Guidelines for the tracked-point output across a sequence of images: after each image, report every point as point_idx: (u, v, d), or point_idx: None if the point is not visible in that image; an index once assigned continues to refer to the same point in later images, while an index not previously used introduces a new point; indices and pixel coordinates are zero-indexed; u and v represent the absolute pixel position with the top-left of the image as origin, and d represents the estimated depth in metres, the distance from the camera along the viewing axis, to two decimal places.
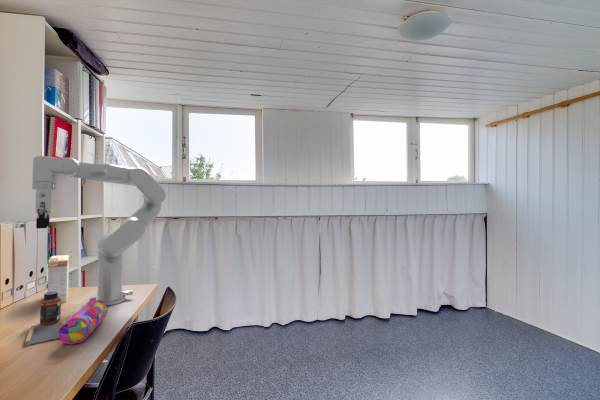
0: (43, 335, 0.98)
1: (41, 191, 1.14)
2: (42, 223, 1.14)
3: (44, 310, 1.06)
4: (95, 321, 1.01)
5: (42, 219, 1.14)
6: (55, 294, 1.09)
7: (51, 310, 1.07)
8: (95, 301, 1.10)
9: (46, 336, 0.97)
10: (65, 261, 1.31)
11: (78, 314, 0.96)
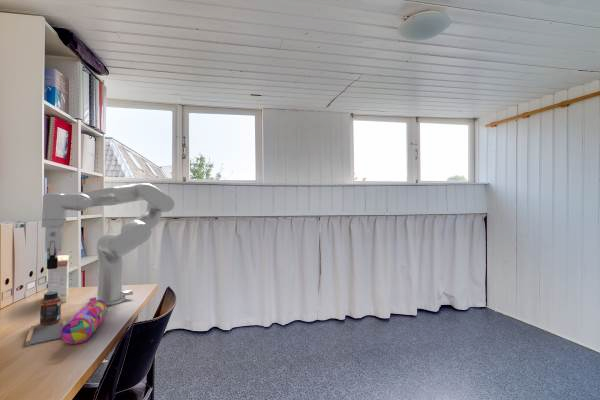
0: (43, 335, 0.98)
1: (51, 230, 1.12)
2: (53, 264, 1.15)
3: (44, 310, 1.06)
4: (97, 321, 1.01)
5: (53, 260, 1.15)
6: (55, 294, 1.09)
7: (51, 310, 1.07)
8: (95, 301, 1.10)
9: (46, 336, 0.97)
10: (65, 261, 1.31)
11: (80, 314, 0.97)
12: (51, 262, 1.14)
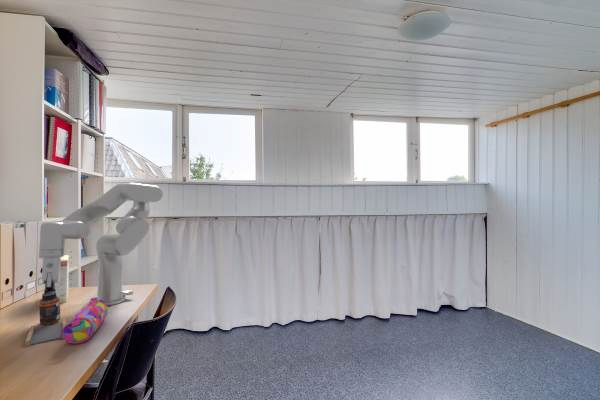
0: (43, 335, 0.98)
1: (48, 261, 1.08)
2: None
3: (43, 311, 1.06)
4: (98, 320, 1.01)
5: None
6: (53, 295, 1.08)
7: (50, 311, 1.07)
8: (96, 301, 1.10)
9: (46, 336, 0.97)
10: (65, 261, 1.31)
11: (81, 314, 0.97)
12: None
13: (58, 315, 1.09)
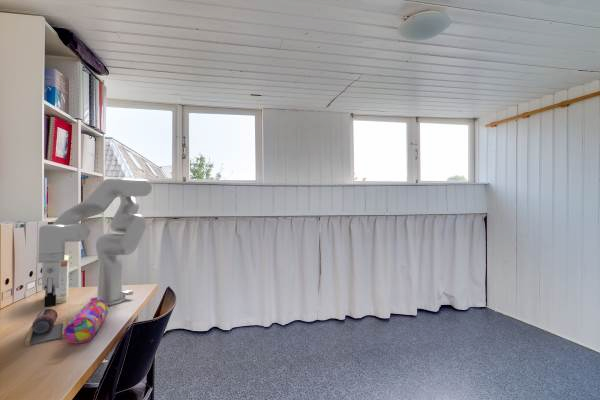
0: (43, 335, 0.98)
1: (48, 265, 1.03)
2: (51, 301, 1.06)
3: None
4: (99, 320, 1.02)
5: (51, 297, 1.06)
6: (48, 329, 0.99)
7: None
8: (97, 301, 1.10)
9: (46, 336, 0.97)
10: (65, 261, 1.31)
11: (83, 313, 0.97)
12: (49, 300, 1.06)
13: None
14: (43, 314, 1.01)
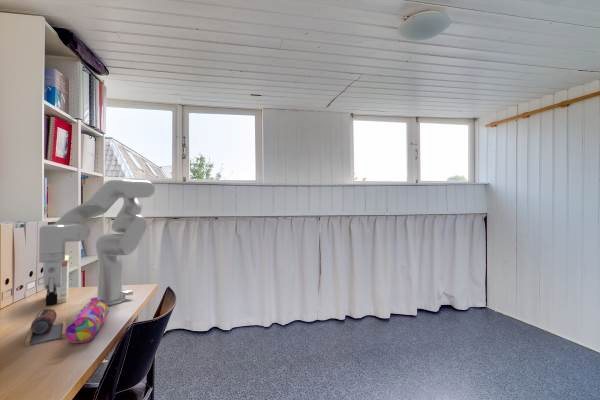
0: (43, 335, 0.98)
1: (49, 265, 1.05)
2: (52, 300, 1.08)
3: None
4: (100, 320, 1.02)
5: (52, 296, 1.08)
6: (47, 328, 0.99)
7: None
8: (97, 301, 1.10)
9: (46, 336, 0.97)
10: (65, 261, 1.31)
11: (84, 313, 0.97)
12: (50, 299, 1.08)
13: (55, 318, 1.06)
14: (41, 314, 1.01)
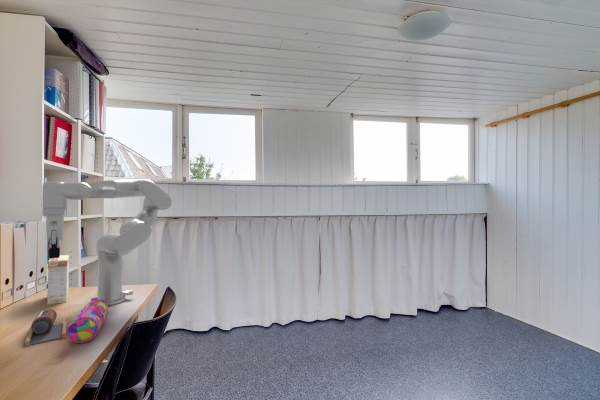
0: (43, 335, 0.98)
1: (52, 218, 1.11)
2: (55, 253, 1.14)
3: None
4: (101, 320, 1.02)
5: (55, 249, 1.14)
6: (47, 328, 0.99)
7: None
8: (97, 301, 1.10)
9: (46, 336, 0.97)
10: (65, 261, 1.31)
11: (85, 313, 0.97)
12: (53, 251, 1.13)
13: (55, 318, 1.06)
14: (41, 314, 1.01)
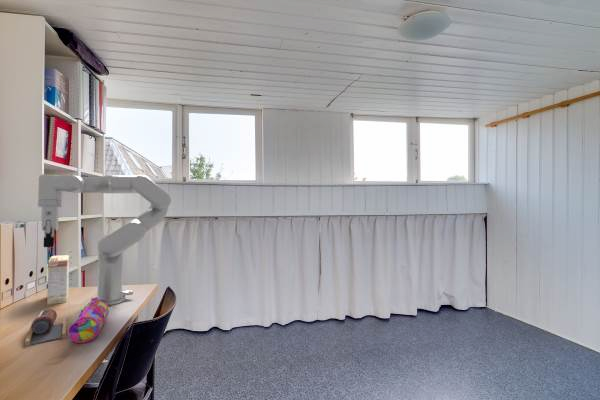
0: (43, 335, 0.98)
1: (47, 209, 1.17)
2: (49, 242, 1.20)
3: None
4: (102, 320, 1.02)
5: (49, 238, 1.20)
6: (47, 328, 0.99)
7: None
8: (98, 301, 1.11)
9: (46, 336, 0.97)
10: (65, 261, 1.31)
11: (86, 313, 0.97)
12: (47, 240, 1.20)
13: (55, 318, 1.06)
14: (41, 314, 1.01)
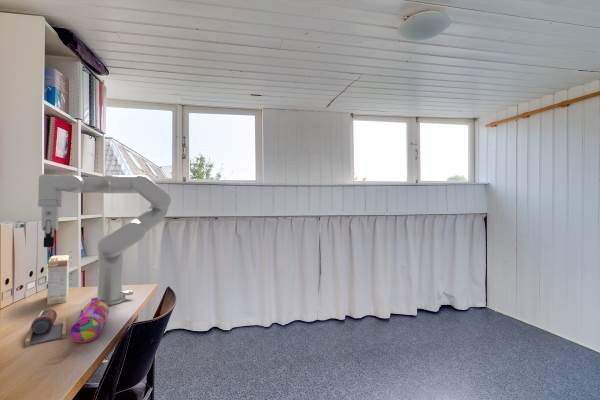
0: (43, 335, 0.98)
1: (47, 209, 1.17)
2: (49, 242, 1.20)
3: None
4: (103, 319, 1.02)
5: (49, 238, 1.20)
6: (47, 328, 0.99)
7: None
8: (98, 301, 1.11)
9: (46, 336, 0.97)
10: (65, 261, 1.31)
11: (87, 313, 0.98)
12: (47, 240, 1.20)
13: (55, 318, 1.06)
14: (41, 314, 1.01)
